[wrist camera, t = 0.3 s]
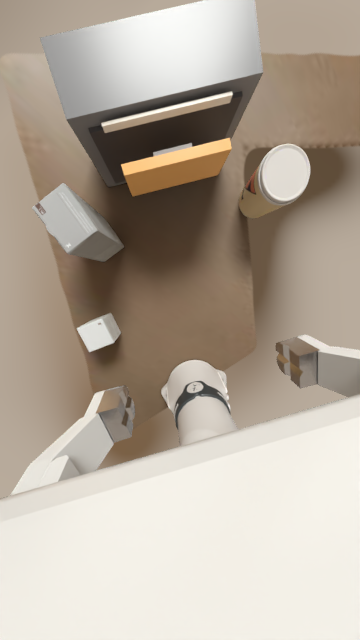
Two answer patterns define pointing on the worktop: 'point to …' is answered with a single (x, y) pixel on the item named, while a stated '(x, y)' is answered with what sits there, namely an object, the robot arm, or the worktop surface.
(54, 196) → the skincare box
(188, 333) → the worktop surface
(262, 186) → the coffee cup
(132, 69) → the grey rectangular box
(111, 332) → the skincare box
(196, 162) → the panel
